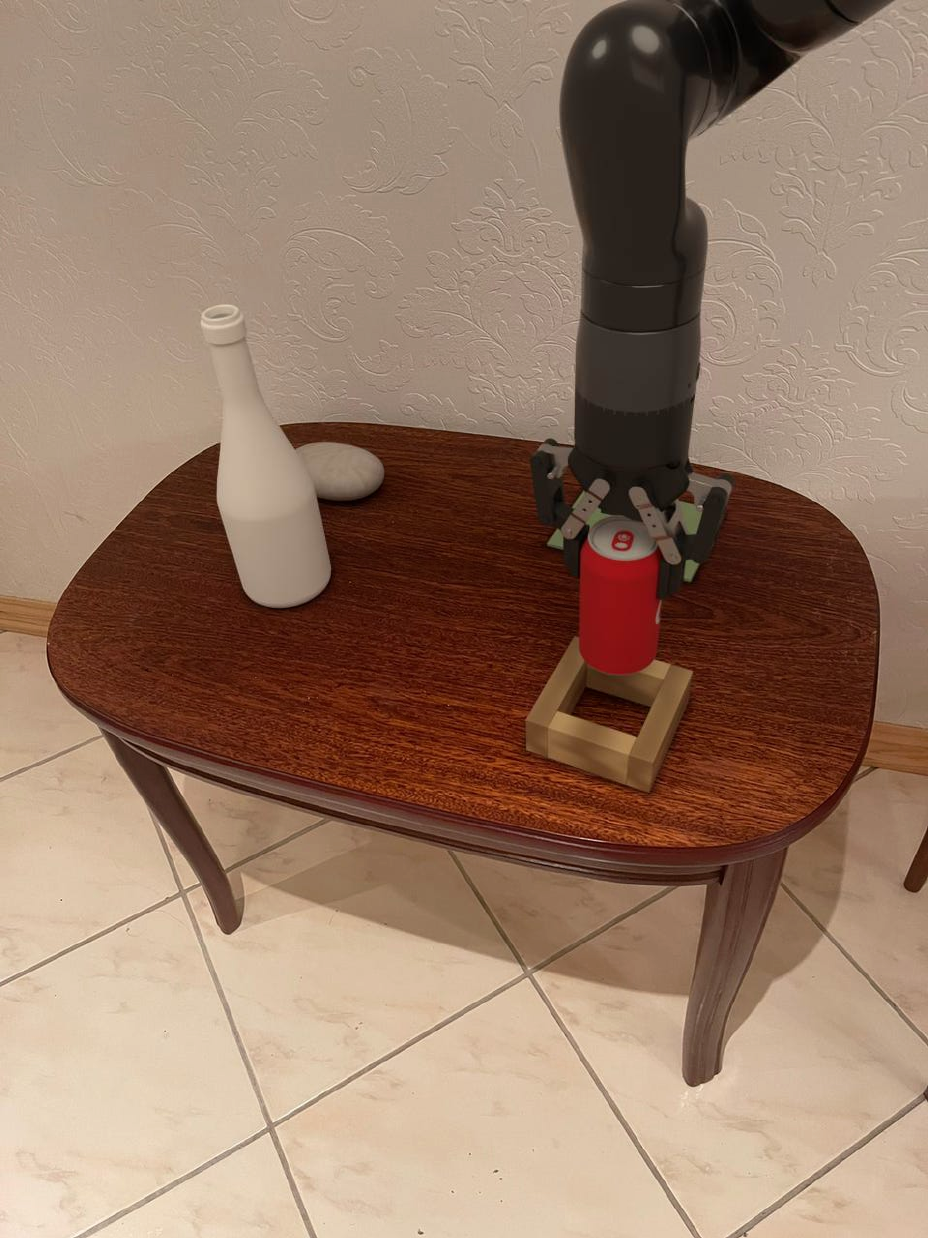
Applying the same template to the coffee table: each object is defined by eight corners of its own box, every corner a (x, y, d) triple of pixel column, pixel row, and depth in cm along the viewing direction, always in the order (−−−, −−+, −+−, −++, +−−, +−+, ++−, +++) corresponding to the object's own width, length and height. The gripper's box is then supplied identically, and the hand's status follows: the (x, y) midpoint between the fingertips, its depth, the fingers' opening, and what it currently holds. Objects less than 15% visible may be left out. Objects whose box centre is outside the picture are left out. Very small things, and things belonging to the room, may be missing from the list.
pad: (724, 513, 100) (724, 510, 99) (690, 582, 91) (691, 579, 91) (590, 483, 105) (590, 480, 105) (547, 545, 97) (547, 543, 97)
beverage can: (662, 635, 73) (675, 516, 65) (648, 688, 69) (660, 568, 61) (588, 622, 75) (591, 505, 67) (569, 673, 71) (571, 554, 63)
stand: (688, 701, 79) (693, 670, 77) (649, 793, 72) (653, 763, 70) (573, 666, 83) (574, 635, 81) (525, 750, 76) (525, 719, 74)
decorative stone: (271, 495, 108) (263, 460, 104) (316, 458, 113) (309, 424, 110) (357, 522, 102) (351, 486, 99) (400, 482, 108) (395, 447, 105)
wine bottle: (320, 546, 100) (263, 280, 79) (343, 596, 93) (287, 320, 73) (236, 569, 97) (156, 302, 77) (254, 622, 91) (171, 346, 70)
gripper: (505, 386, 56) (514, 588, 67) (735, 427, 50) (702, 639, 62) (552, 336, 61) (552, 532, 72) (766, 368, 55) (730, 576, 66)
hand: (621, 581), depth 67 cm, fingers closed on beverage can, 6 cm apart
